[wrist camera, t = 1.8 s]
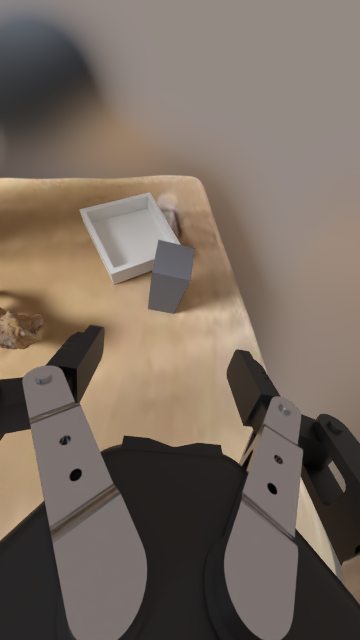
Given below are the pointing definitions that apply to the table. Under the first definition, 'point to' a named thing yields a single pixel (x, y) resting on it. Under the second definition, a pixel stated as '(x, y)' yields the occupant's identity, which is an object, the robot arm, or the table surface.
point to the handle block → (170, 276)
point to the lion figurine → (18, 329)
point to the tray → (127, 234)
